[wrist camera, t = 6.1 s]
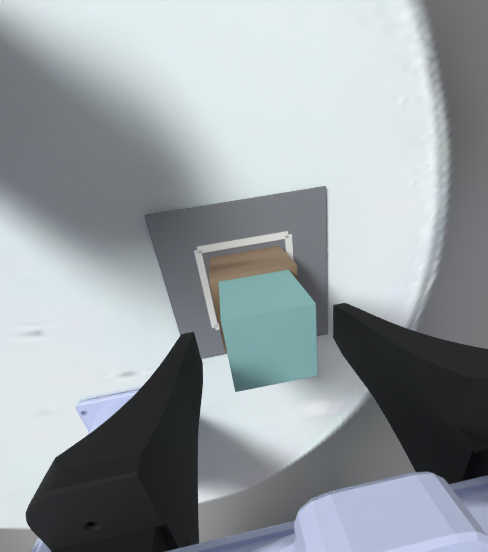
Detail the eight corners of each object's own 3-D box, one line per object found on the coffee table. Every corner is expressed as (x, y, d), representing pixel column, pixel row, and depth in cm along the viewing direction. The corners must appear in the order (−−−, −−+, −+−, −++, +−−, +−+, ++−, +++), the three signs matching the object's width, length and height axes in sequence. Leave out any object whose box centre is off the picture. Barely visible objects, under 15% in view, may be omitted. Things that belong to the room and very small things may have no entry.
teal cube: (292, 328, 16) (317, 375, 12) (229, 339, 15) (235, 392, 12) (288, 269, 14) (316, 303, 10) (218, 281, 14) (220, 320, 10)
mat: (326, 331, 21) (327, 334, 21) (188, 358, 21) (187, 361, 20) (323, 186, 17) (326, 186, 16) (145, 215, 16) (144, 216, 16)
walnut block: (284, 306, 20) (301, 336, 16) (222, 317, 19) (224, 351, 16) (279, 245, 18) (296, 264, 14) (209, 257, 17) (208, 280, 14)
